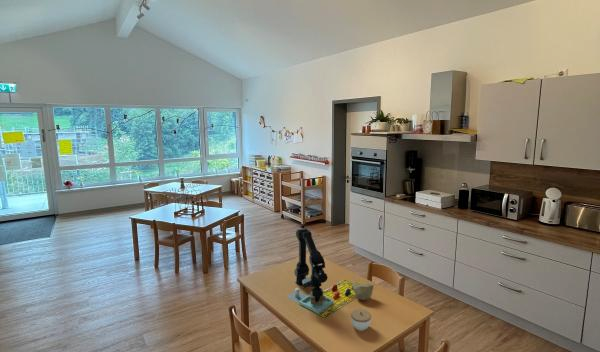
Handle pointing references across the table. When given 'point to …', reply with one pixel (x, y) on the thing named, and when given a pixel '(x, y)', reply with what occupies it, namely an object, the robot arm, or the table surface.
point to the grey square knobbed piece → (296, 295)
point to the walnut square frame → (313, 301)
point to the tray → (316, 307)
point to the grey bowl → (362, 290)
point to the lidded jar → (360, 319)
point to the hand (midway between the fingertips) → (316, 298)
